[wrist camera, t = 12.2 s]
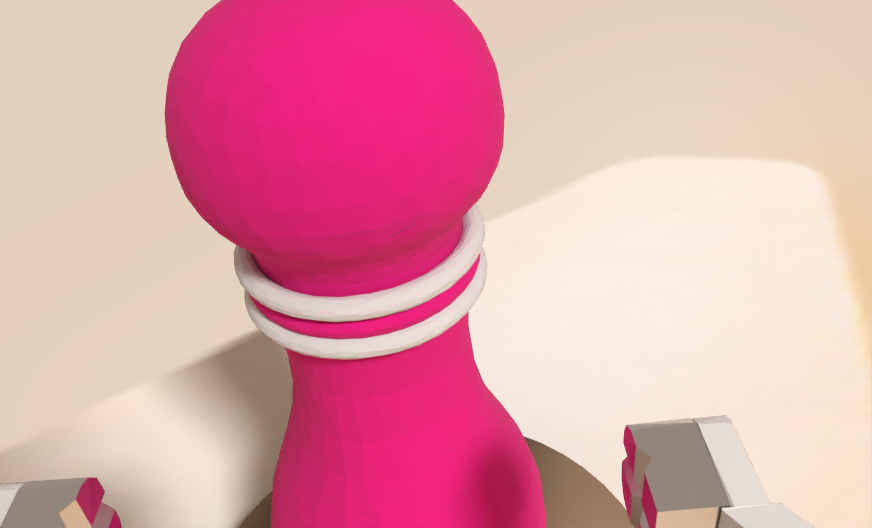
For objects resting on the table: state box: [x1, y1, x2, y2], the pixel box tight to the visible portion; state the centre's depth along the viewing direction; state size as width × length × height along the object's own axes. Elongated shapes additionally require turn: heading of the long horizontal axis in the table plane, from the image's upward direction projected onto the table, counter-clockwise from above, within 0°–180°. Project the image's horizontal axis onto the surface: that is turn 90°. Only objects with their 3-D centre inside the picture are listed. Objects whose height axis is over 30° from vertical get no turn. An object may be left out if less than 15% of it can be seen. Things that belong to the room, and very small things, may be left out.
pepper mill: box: [165, 0, 546, 528], centre depth 18 cm, size 7×7×20 cm
